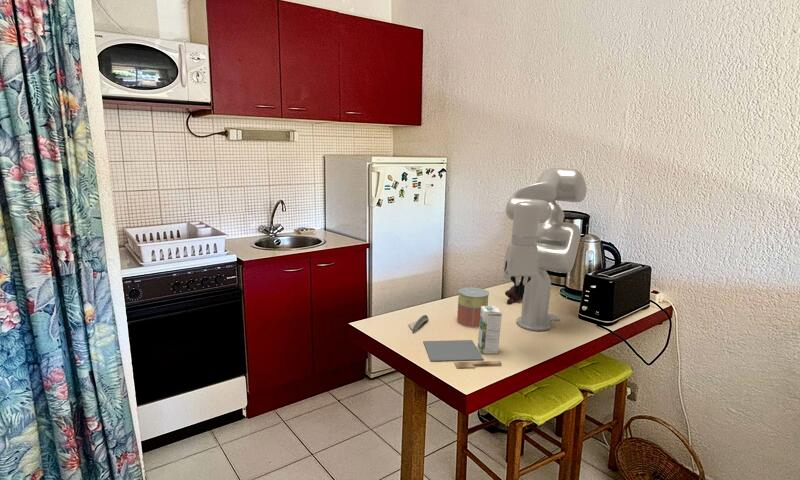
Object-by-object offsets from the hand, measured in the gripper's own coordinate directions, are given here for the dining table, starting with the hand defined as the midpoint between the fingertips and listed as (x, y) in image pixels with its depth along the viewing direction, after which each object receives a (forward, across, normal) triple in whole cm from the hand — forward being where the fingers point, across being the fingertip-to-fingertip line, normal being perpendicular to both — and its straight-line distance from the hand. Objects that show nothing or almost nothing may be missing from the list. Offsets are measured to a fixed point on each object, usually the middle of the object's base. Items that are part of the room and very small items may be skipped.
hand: (518, 296), depth 147 cm
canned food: (+19, +8, -25) cm, 32 cm away
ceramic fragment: (+20, +28, -21) cm, 40 cm away
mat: (+19, +20, -1) cm, 28 cm away
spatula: (+19, +14, +9) cm, 26 cm away
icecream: (+18, -18, -47) cm, 54 cm away
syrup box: (+19, +8, -1) cm, 21 cm away
